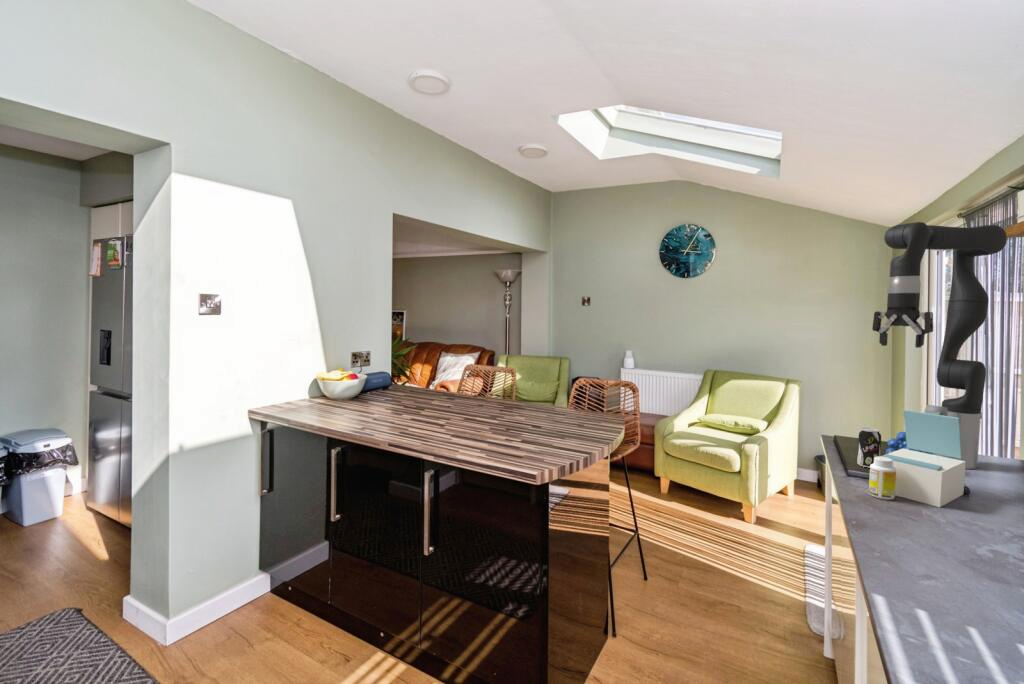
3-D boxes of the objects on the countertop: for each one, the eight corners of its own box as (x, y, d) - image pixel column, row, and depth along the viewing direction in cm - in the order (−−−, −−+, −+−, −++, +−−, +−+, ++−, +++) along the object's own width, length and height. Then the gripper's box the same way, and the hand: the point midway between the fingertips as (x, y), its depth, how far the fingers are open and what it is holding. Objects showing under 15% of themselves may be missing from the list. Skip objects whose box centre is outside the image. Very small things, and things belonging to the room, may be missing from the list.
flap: (907, 447, 142) (915, 438, 145) (961, 458, 132) (969, 448, 135) (903, 409, 139) (912, 400, 142) (958, 417, 129) (966, 407, 132)
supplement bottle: (897, 496, 130) (899, 459, 129) (891, 502, 127) (893, 463, 126) (872, 490, 135) (874, 454, 134) (865, 495, 131) (867, 458, 130)
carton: (900, 478, 144) (902, 446, 143) (963, 494, 132) (965, 458, 131) (874, 489, 135) (876, 455, 135) (939, 507, 123) (942, 469, 123)
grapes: (934, 469, 152) (937, 431, 151) (931, 474, 147) (934, 435, 146) (887, 460, 160) (889, 424, 159) (883, 465, 155) (885, 428, 155)
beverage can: (858, 468, 153) (859, 430, 152) (856, 462, 158) (857, 426, 157) (880, 471, 150) (882, 432, 149) (878, 465, 155) (880, 428, 154)
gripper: (939, 291, 142) (935, 347, 143) (881, 292, 154) (878, 344, 155) (928, 291, 138) (925, 348, 139) (870, 292, 150) (867, 345, 151)
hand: (900, 346), depth 147 cm, fingers open, 8 cm apart
